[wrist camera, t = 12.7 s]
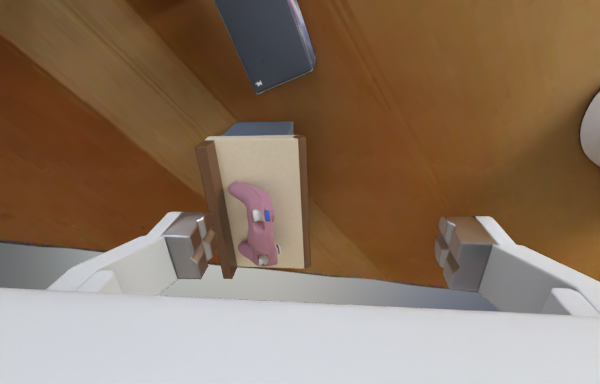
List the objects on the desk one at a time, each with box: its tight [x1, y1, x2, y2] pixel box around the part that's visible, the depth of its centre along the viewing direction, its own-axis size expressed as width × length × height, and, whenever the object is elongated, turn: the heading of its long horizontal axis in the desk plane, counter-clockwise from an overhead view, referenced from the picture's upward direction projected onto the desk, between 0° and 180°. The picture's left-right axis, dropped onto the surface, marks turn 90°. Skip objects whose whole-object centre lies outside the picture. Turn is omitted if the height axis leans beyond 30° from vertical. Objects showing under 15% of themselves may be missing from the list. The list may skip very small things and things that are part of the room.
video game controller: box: [228, 182, 281, 267], centre depth 34 cm, size 10×5×7 cm, turn 1°
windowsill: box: [195, 121, 311, 279], centre depth 39 cm, size 11×18×12 cm, turn 2°
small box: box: [214, 0, 317, 94], centre depth 31 cm, size 11×6×10 cm, turn 22°
